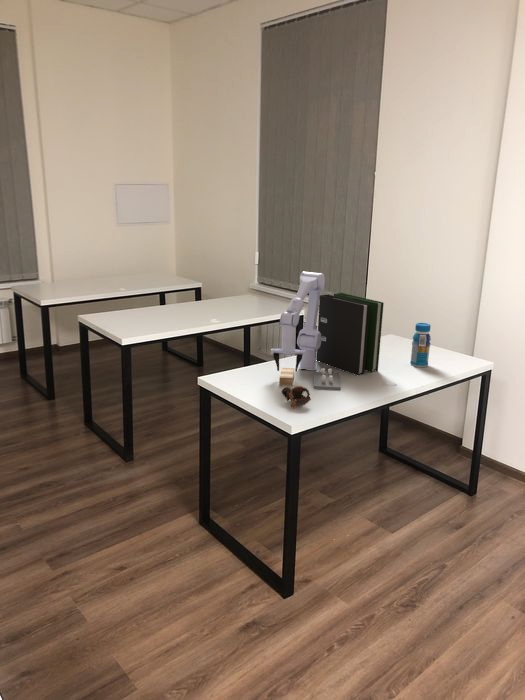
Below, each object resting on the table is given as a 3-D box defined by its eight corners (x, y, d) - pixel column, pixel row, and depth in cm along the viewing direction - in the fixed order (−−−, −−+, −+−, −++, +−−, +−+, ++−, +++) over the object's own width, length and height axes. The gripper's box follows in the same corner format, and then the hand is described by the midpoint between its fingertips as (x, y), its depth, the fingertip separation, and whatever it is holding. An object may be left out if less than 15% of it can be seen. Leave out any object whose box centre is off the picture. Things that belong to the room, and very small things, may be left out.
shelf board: (281, 375, 259) (281, 367, 258) (294, 376, 259) (294, 368, 258) (279, 385, 246) (279, 377, 245) (292, 386, 245) (292, 378, 244)
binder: (378, 371, 268) (384, 302, 259) (356, 376, 259) (361, 305, 251) (337, 356, 289) (341, 292, 280) (315, 361, 280) (318, 295, 271)
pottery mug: (312, 402, 228) (315, 389, 222) (302, 419, 222) (305, 406, 216) (285, 390, 231) (287, 377, 225) (274, 407, 225) (276, 393, 219)
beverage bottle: (406, 364, 279) (410, 323, 274) (416, 361, 285) (420, 321, 279) (421, 368, 273) (425, 327, 268) (431, 365, 279) (436, 324, 273)
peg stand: (313, 373, 261) (313, 364, 260) (338, 375, 260) (338, 366, 259) (313, 388, 242) (314, 379, 241) (340, 390, 241) (341, 380, 240)
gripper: (270, 341, 244) (269, 372, 247) (305, 343, 243) (304, 374, 247) (271, 337, 251) (270, 367, 254) (305, 339, 250) (304, 369, 253)
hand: (287, 370), depth 251 cm, fingers open, 7 cm apart
